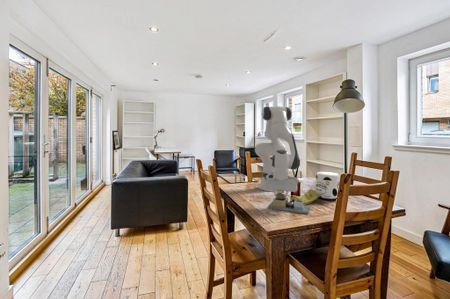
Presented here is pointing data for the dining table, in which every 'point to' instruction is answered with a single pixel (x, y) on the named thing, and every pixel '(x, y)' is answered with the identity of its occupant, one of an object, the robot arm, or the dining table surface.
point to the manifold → (289, 206)
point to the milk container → (327, 185)
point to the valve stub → (280, 195)
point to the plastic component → (306, 197)
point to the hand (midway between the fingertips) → (280, 197)
